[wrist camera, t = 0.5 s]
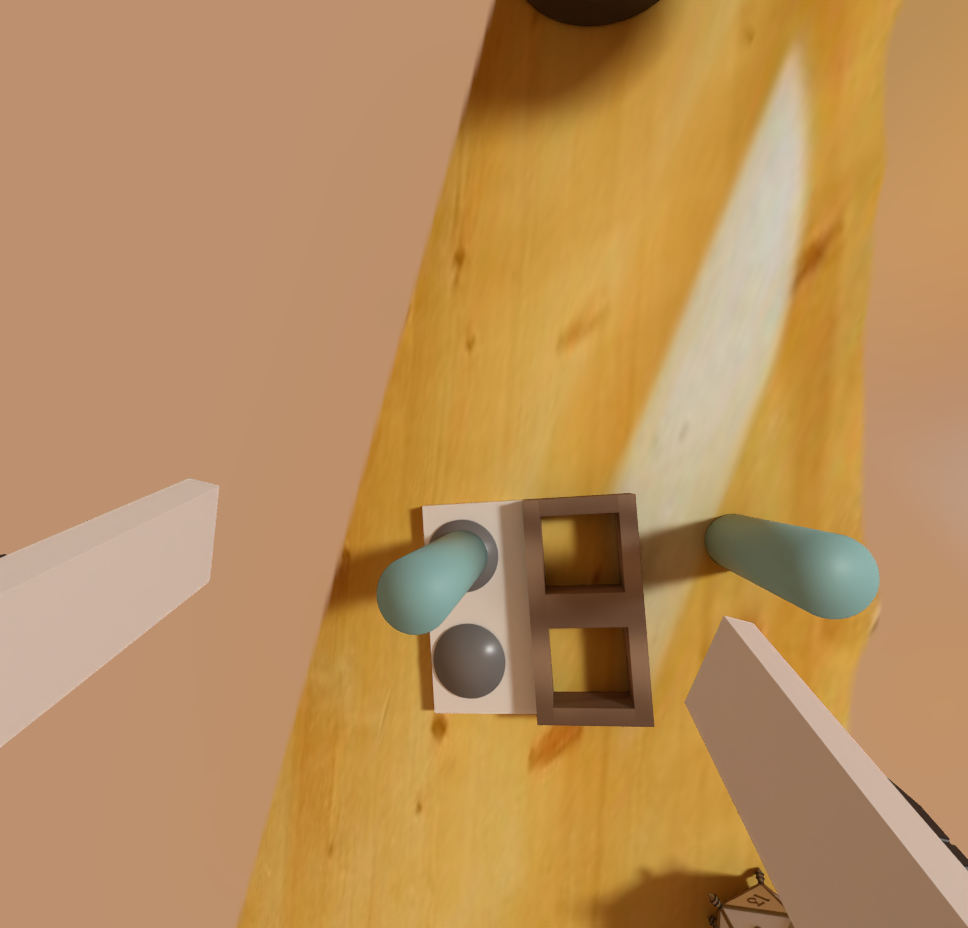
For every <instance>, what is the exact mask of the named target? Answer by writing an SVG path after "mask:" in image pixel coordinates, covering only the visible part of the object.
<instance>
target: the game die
mask: <svg viewBox="0 0 968 928" xmlns="http://www.w3.org/2000/svg"><path fill="white" fill-rule="evenodd" d="M755 874H756V879H757V880H758V884H756V885H754V886H752V887H751V888H749V889H747V890H745V891H743V892H741V893H739V894H737V895H736V896H734V897H732V898H730V899H728V900H726V901H724V902H723V903H720V901H719V898H717V897H716V894H714V895H713V894H710V893H708V895H709V898H710V902H711V903H713V905H714V906H715V907H718V914H717V919H715V918H714V917H713V916H710V917H707V918H708V920H709V923H710V925H711V926H713V927H714V928H715V927H716V928H794V926H793V924H792V922H791V920H790V918H789V916H788V914H787V912H786V910H785V908H784V906H783V904H782V901H781V899H780V897H779V896H778V895H777V894H776V893H775V892H773V891H772V890H771V889H770V888H768V887H767V886H766V885H765V884H764V877H763V876H764V874H763V873H762V872H761V870H760V869H759V867H758V869H757V871H756V873H755Z"/></svg>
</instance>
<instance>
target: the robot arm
mask: <svg viewBox="0 0 968 928" xmlns="http://www.w3.org/2000/svg"><path fill="white" fill-rule="evenodd" d="M528 1H529V2H530V3H531V4H532V5H533V6H534V7H535V8H537V9H538V10H539V11H541V12H542V13H544V14H546V15H547V16H549V17H552V18H554V19H556V20H559V21H562V22H566V23H570V24H577V25H600V24H607V23H612V22H616V21H620V20H623V19H626V18H628V17H631V16H633V15H635V14H638V13H640V12H641V11H643V10H645V9H647V8H648V7H650V6H652V5H653V4H655V3H656V2H657V1H659V0H528ZM218 493H219V486H218V485H215V484H211V483H206V482H203V481H199V480H195V479H191V478H188V479H186V480H184V481H181V482H179V483H176V484H174V485H172V486H169V487H167V488H165V489H162V490H160V491H158V492H155V493H153V494H150V495H148V496H146V497H143V498H141V499H139V500H136V501H134V502H131V503H129V504H127V505H124V506H122V507H120V508H117V509H115V510H113V511H110V512H108V513H105V514H103V515H101V516H98V517H96V518H94V519H91V520H89V521H87V522H84V523H82V524H79V525H77V526H75V527H72V528H70V529H68V530H65V531H63V532H61V533H58V534H56V535H54V536H51V537H49V538H46V539H44V540H42V541H39V542H37V543H35V544H32V545H30V546H27V547H25V548H23V549H20V550H18V551H16V552H13V553H11V554H8V555H5V554H3V555H0V747H2V746H3V745H4V744H5V743H7V742H8V741H9V740H10V739H12V738H13V737H14V736H15V735H17V734H18V733H19V732H20V731H22V730H23V729H24V728H25V727H27V726H28V725H29V724H30V723H32V722H33V721H34V720H35V719H37V718H38V717H39V716H41V715H42V714H43V713H44V712H45V711H47V710H48V709H49V708H51V707H52V706H53V705H54V704H56V703H57V702H58V701H59V700H60V699H62V698H63V697H64V696H66V695H67V694H68V693H69V692H71V691H72V690H73V689H74V688H76V687H77V686H78V685H79V684H81V683H82V682H83V681H85V680H86V679H87V678H88V677H90V676H91V675H92V674H93V673H95V672H96V671H97V670H98V669H100V668H101V667H102V666H103V665H105V664H106V663H107V662H108V661H110V660H111V659H112V658H114V657H115V656H116V655H117V654H119V653H120V652H121V651H122V650H124V649H125V648H126V647H127V646H129V645H130V644H131V643H132V642H133V641H135V640H136V639H137V638H139V637H140V636H141V635H142V634H144V633H145V632H146V631H147V630H149V629H150V628H151V627H153V626H154V625H155V624H156V623H157V622H159V621H160V620H161V619H163V618H164V617H165V616H166V615H168V614H169V613H170V612H171V611H173V610H174V609H175V608H176V607H178V606H179V605H180V604H181V603H183V602H184V601H185V600H186V599H188V598H189V597H190V596H192V595H193V594H194V593H195V592H197V591H198V590H199V589H200V588H201V587H203V586H204V585H205V584H207V583H208V582H209V581H210V572H211V562H212V552H213V543H214V533H215V523H216V513H217V502H218ZM685 704H686V706H687V708H688V710H689V712H690V714H691V716H692V718H693V720H694V722H695V724H696V727H697V729H698V731H699V733H700V735H701V737H702V739H703V741H704V743H705V745H706V747H707V749H708V751H709V753H710V755H711V757H712V759H713V762H714V764H715V766H716V768H717V770H718V772H719V774H720V776H721V778H722V780H723V782H724V784H725V786H726V788H727V790H728V792H729V794H730V796H731V799H732V801H733V803H734V805H735V807H736V809H737V811H738V813H739V815H740V817H741V819H742V821H743V823H744V825H745V827H746V829H747V831H748V834H749V836H750V838H751V840H752V842H753V844H754V846H755V848H756V850H757V852H758V854H759V856H760V858H761V860H762V862H763V864H764V866H765V869H766V871H767V873H768V875H769V877H770V879H771V881H772V883H773V885H774V887H775V889H776V891H777V893H778V895H779V897H780V899H781V901H782V904H783V906H784V908H785V910H786V912H787V914H788V916H789V918H790V920H791V922H792V924H793V926H794V928H968V859H967V858H966V857H965V856H964V855H963V854H962V853H961V851H960V850H959V849H958V848H957V847H956V846H955V845H951V844H950V842H949V838H948V837H947V836H946V835H945V834H944V832H943V831H942V830H941V829H940V828H939V826H938V825H937V824H936V823H935V822H934V821H933V820H932V819H931V817H930V816H929V815H928V814H927V813H926V812H925V811H924V810H923V808H922V807H921V806H920V805H918V804H917V803H916V802H915V801H914V800H913V799H912V798H911V797H909V796H908V795H907V794H906V793H905V792H903V791H902V790H901V789H900V788H899V787H898V786H897V785H895V784H894V783H893V782H892V781H891V780H890V779H888V778H887V777H886V776H885V775H884V774H883V773H882V772H881V770H880V769H879V768H878V767H877V766H876V764H875V763H874V762H873V761H872V760H871V759H870V758H869V756H868V755H867V754H866V753H865V752H864V751H863V749H861V747H860V746H859V745H858V744H857V743H856V742H855V740H854V739H853V738H852V737H851V736H850V734H849V733H848V732H847V731H846V730H845V729H844V728H843V726H842V725H841V724H840V723H839V722H838V721H837V719H836V718H835V717H834V716H833V715H832V714H831V713H830V711H829V710H828V709H827V708H826V707H825V706H824V704H823V703H822V702H821V701H820V700H819V699H818V698H817V696H816V695H815V694H814V693H813V692H812V691H811V689H810V688H809V687H808V686H807V685H806V684H805V683H804V681H803V680H802V679H801V678H800V677H799V676H798V674H797V673H796V672H795V671H794V670H793V669H792V668H791V666H790V665H789V664H788V663H787V662H786V661H785V659H784V658H783V657H782V656H781V655H780V654H779V653H778V651H777V650H776V649H775V648H774V647H773V646H772V644H771V643H770V642H769V641H768V640H767V639H766V638H765V636H764V635H763V634H762V633H761V632H760V631H759V629H758V628H757V627H756V626H755V625H754V624H753V623H751V622H747V621H743V620H739V619H735V618H731V617H727V616H724V617H723V619H722V621H721V623H720V625H719V628H718V630H717V632H716V634H715V636H714V639H713V641H712V643H711V645H710V647H709V650H708V652H707V654H706V656H705V658H704V661H703V663H702V665H701V667H700V669H699V672H698V674H697V676H696V678H695V680H694V683H693V685H692V687H691V689H690V691H689V694H688V696H687V698H686V700H685Z"/></svg>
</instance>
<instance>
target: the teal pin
mask: <svg viewBox="0 0 968 928" xmlns="http://www.w3.org/2000/svg"><path fill="white" fill-rule="evenodd" d="M705 547H706V550H707V552H708V554H709V556H710V557H711V558H712V560H714V561H715V562H716V563H717V564H719V565H720V566H722V567H724V568H726V569H728V570H730V571H732V572H734V573H736V574H737V575H739V576H741V577H743V578H745V579H747V580H749V581H751V582H753V583H754V584H756V585H758V586H760V587H762V588H764V589H766V590H768V591H770V592H771V593H773V594H775V595H777V596H779V597H781V598H783V599H785V600H787V601H788V602H790V603H792V604H794V605H796V606H798V607H800V608H802V609H803V610H805V611H807V612H809V613H811V614H813V615H816V616H818V617H822V618H827V619H843V618H848V617H851V616H854V615H856V614H858V613H860V612H861V611H863V610H864V609H865V608H866V607H868V606H869V604H870V603H871V602H872V601H873V599H874V598H875V596H876V593H877V591H878V587H879V570H878V567H877V564H876V562H875V559H874V558H873V556H872V555H871V553H870V552H869V551H868V550H867V549H866V548H865V547H864V546H863V545H862V544H860V543H859V542H858V541H856V540H854V539H852V538H850V537H847V536H844V535H840V534H835V533H830V532H825V531H820V530H815V529H810V528H805V527H799V526H794V525H789V524H784V523H779V522H774V521H769V520H764V519H759V518H754V517H748V516H743V515H738V514H728V515H724V516H721V517H719V518H717V519H716V520H714V521H713V522H712V523H711V524H710V526H709V527H708V529H707V531H706V534H705Z"/></svg>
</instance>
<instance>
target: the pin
mask: <svg viewBox="0 0 968 928" xmlns="http://www.w3.org/2000/svg"><path fill="white" fill-rule="evenodd" d="M487 559H488V554H487V549H486V546H485V544H484V542H483V541H482V540H481V539H480V538H479V537H478V536H477V535H476V534H474V533H472V532H470V531H466V530H457V531H453V532H451V533H449V534H447V535H445V536H443V537H441V538H439V539H437V540H435V541H433V542H431V543H429V544H427V545H425V546H423V547H421V548H419V549H417V550H415V551H413V552H411V553H409V554H408V555H406V556H404V557H402V558H400V559H398V560H396V561H394V562H393V563H391V564H390V565H389V566H388V567H387V568H386V569H385V570H384V572H383V573H382V575H381V577H380V579H379V582H378V586H377V602H378V606H379V609H380V612H381V613H382V615H383V617H384V618H385V620H386V621H387V622H388V623H389V624H390V625H391V626H392V627H393V628H395V629H396V630H398V631H400V632H403V633H406V634H410V635H421V634H426V633H428V632H431V631H433V630H434V629H436V628H437V627H439V626H440V625H441V624H442V623H443V621H444V620H445V619H446V618H447V616H448V615H449V614H450V613H451V611H452V610H453V609H454V608H455V606H456V605H457V604H458V603H459V601H460V600H461V599H462V598H463V596H464V595H465V594H466V593H467V591H468V590H469V589H470V587H471V586H472V585H473V584H474V582H475V581H476V580H477V579H478V577H479V576H480V575H481V574H482V572H483V571H484V569H485V567H486V564H487Z"/></svg>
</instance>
